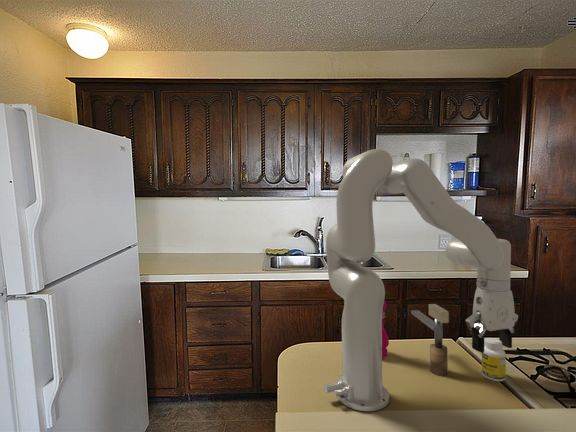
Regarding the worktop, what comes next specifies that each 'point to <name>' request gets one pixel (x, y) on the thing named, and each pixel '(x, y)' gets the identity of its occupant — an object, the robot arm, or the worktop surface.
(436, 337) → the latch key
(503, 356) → the supplement bottle
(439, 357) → the post
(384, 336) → the pepper mill
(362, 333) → the robot arm
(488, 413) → the worktop surface
